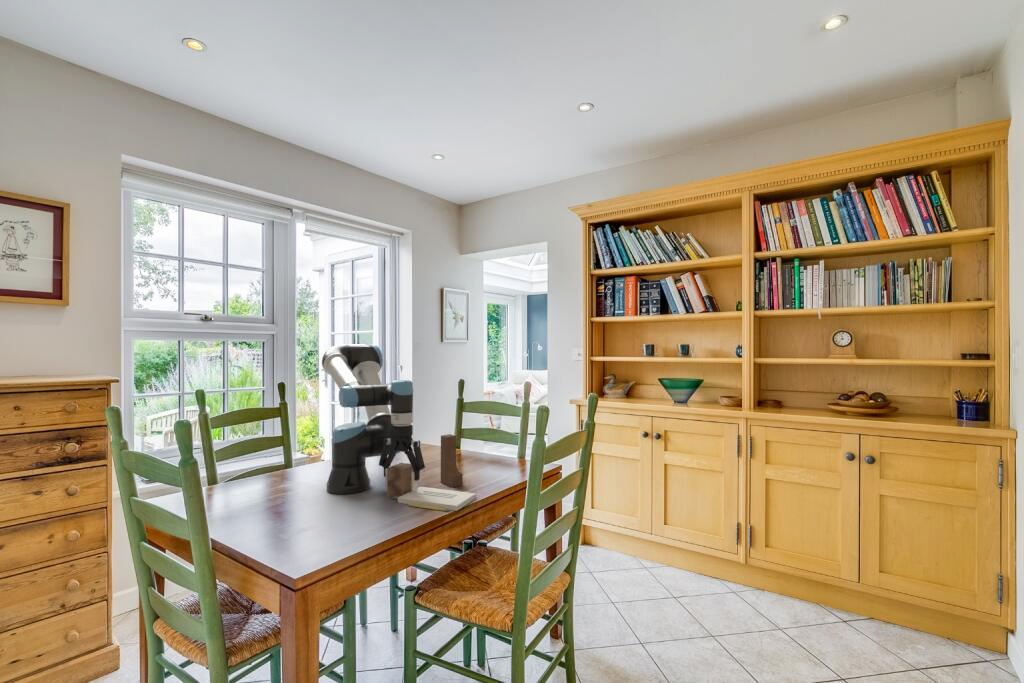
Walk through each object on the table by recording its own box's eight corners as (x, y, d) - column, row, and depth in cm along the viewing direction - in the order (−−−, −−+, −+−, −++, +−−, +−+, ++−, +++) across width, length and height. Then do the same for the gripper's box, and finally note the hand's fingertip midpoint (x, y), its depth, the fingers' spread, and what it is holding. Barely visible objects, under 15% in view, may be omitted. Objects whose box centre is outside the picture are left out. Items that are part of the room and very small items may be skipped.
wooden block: (462, 485, 182) (463, 437, 182) (452, 487, 179) (452, 438, 179) (450, 480, 189) (450, 434, 189) (440, 482, 186) (440, 435, 187)
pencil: (408, 506, 158) (408, 503, 158) (409, 505, 159) (409, 503, 159) (448, 512, 153) (448, 509, 153) (449, 511, 154) (449, 508, 154)
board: (397, 502, 162) (397, 497, 162) (420, 491, 175) (420, 486, 175) (456, 510, 154) (456, 505, 154) (475, 498, 167) (475, 493, 167)
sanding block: (387, 496, 168) (387, 467, 169) (400, 490, 176) (400, 462, 176) (402, 498, 166) (402, 469, 166) (415, 492, 174) (415, 464, 174)
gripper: (368, 424, 172) (368, 487, 172) (424, 428, 164) (423, 494, 163) (381, 421, 179) (381, 481, 179) (435, 424, 171) (435, 488, 170)
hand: (401, 487), depth 171 cm, fingers open, 10 cm apart
